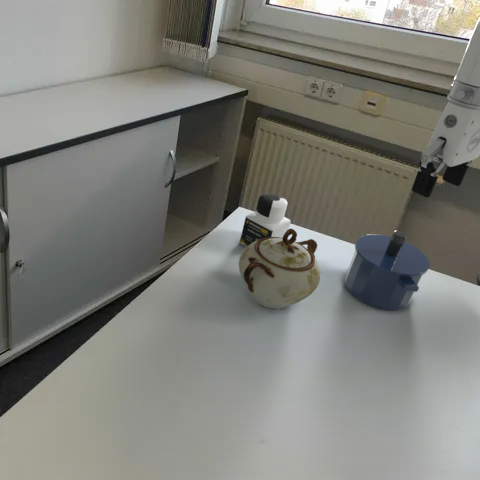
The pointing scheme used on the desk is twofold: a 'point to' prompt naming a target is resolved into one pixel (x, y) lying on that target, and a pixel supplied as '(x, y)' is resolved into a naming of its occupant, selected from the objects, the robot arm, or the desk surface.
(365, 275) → the pot
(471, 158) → the robot arm
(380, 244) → the lid
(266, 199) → the medicine bottle
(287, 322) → the desk surface
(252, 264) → the sugar bowl
